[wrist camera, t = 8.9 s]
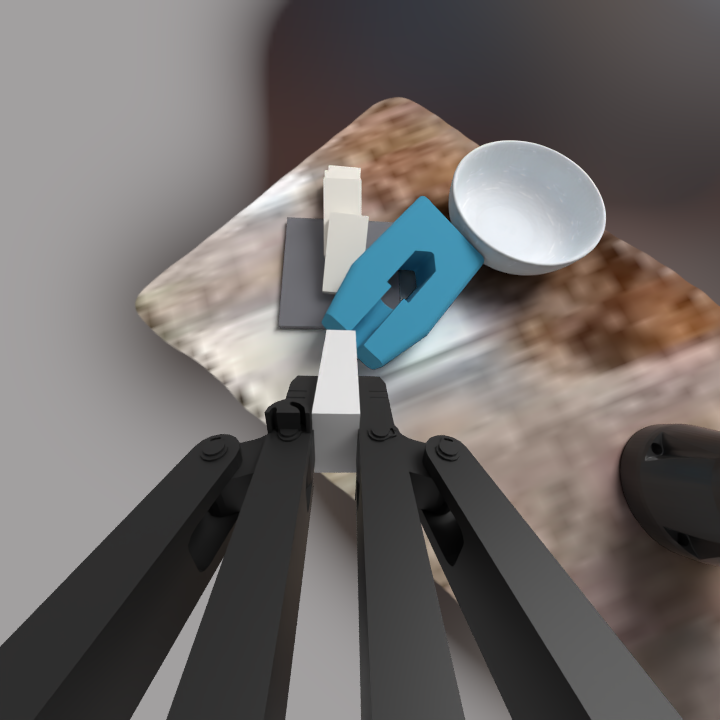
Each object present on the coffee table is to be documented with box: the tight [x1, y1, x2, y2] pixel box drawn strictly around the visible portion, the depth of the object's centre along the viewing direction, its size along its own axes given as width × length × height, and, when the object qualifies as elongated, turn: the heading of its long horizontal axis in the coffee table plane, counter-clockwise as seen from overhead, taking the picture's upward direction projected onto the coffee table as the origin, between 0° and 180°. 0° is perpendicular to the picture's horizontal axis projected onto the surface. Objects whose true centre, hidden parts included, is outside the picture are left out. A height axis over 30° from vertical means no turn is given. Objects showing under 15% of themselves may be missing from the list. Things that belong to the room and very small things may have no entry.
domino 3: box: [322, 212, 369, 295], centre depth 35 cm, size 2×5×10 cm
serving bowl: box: [449, 141, 606, 275], centre depth 39 cm, size 21×21×7 cm
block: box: [322, 196, 484, 369], centre depth 34 cm, size 12×5×20 cm
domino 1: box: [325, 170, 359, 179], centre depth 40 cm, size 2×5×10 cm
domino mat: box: [279, 217, 400, 329], centre depth 38 cm, size 17×16×1 cm
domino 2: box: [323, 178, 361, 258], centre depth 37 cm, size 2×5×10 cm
